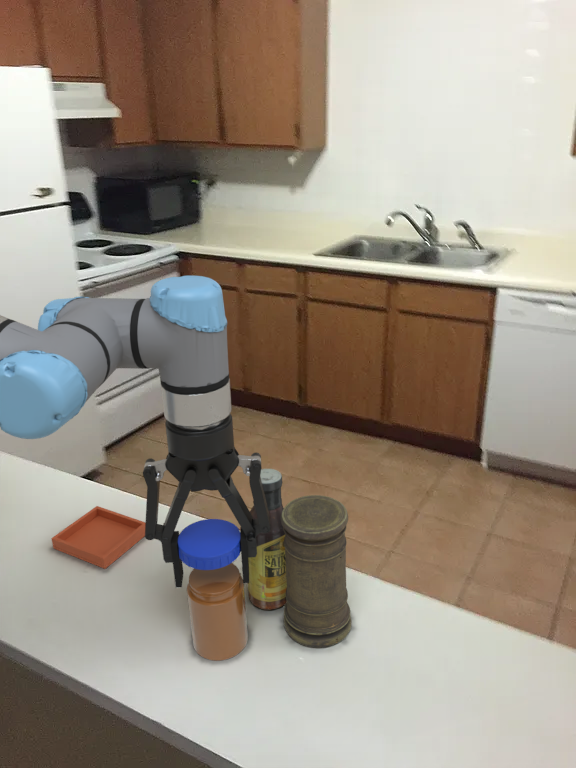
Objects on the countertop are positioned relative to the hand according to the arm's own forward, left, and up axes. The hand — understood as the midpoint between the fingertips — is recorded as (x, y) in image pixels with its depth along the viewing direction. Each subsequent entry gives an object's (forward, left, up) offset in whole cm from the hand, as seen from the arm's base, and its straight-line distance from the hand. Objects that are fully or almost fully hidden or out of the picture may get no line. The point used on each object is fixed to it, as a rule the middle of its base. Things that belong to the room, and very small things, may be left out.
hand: (213, 577), depth 84 cm
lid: (0, 0, +6) cm, 6 cm away
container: (+13, +1, -10) cm, 17 cm away
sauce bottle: (+7, +7, -10) cm, 15 cm away
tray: (-20, +23, -10) cm, 32 cm away
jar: (0, 0, -10) cm, 10 cm away
